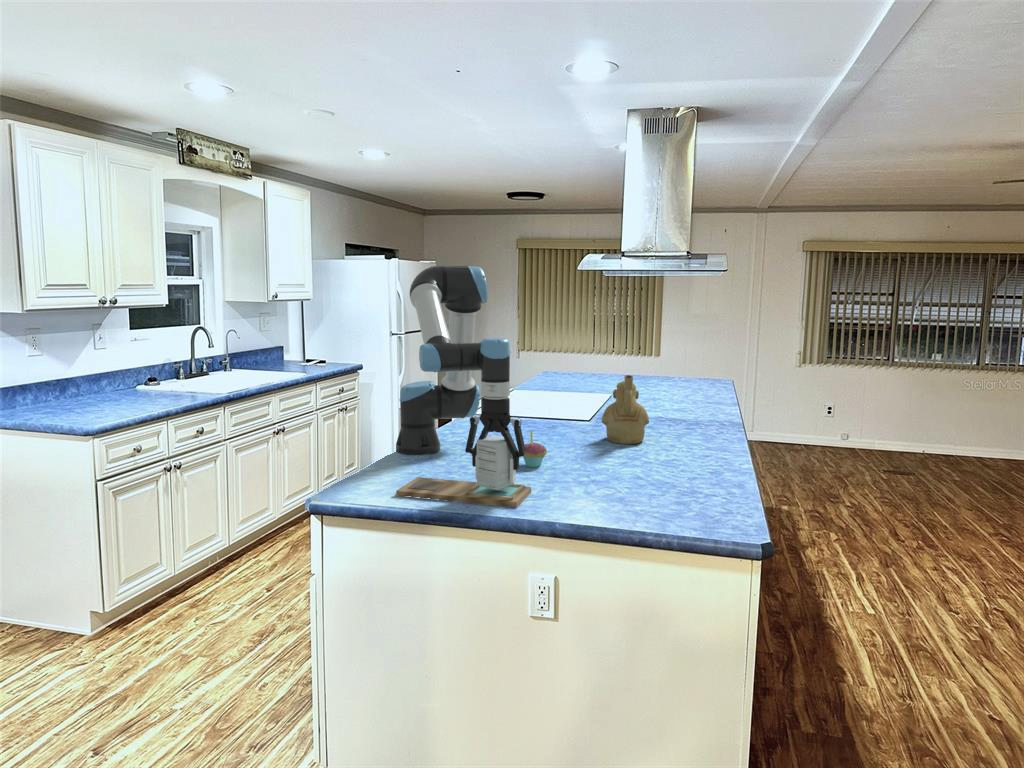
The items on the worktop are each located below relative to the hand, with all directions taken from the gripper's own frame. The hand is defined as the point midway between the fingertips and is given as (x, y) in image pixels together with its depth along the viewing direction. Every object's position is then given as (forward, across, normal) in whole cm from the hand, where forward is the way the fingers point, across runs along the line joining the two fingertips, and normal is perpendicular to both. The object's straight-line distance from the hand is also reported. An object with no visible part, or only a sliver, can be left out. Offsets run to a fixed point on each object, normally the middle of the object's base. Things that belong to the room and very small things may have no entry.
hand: (495, 479), depth 190 cm
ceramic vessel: (+5, +24, +78) cm, 82 cm away
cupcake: (+5, +1, +35) cm, 35 cm away
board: (+5, -9, 0) cm, 10 cm away
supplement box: (+2, 0, 0) cm, 2 cm away
